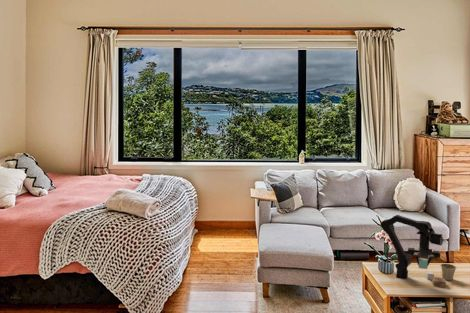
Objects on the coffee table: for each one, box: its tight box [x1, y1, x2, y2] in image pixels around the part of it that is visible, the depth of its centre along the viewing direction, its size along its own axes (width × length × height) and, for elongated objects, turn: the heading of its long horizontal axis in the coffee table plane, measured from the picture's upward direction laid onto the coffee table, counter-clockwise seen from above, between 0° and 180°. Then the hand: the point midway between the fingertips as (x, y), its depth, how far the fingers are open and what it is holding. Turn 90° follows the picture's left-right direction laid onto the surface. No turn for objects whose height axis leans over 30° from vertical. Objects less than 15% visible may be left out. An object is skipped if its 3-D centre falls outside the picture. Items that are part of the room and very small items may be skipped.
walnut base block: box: [431, 276, 447, 288], centre depth 273 cm, size 7×7×4 cm
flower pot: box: [440, 263, 457, 281], centre depth 281 cm, size 9×9×9 cm
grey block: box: [424, 270, 435, 281], centre depth 282 cm, size 4×4×4 cm
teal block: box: [417, 257, 429, 270], centre depth 274 cm, size 5×5×5 cm
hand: (422, 265), depth 274 cm, fingers closed on teal block, 5 cm apart
